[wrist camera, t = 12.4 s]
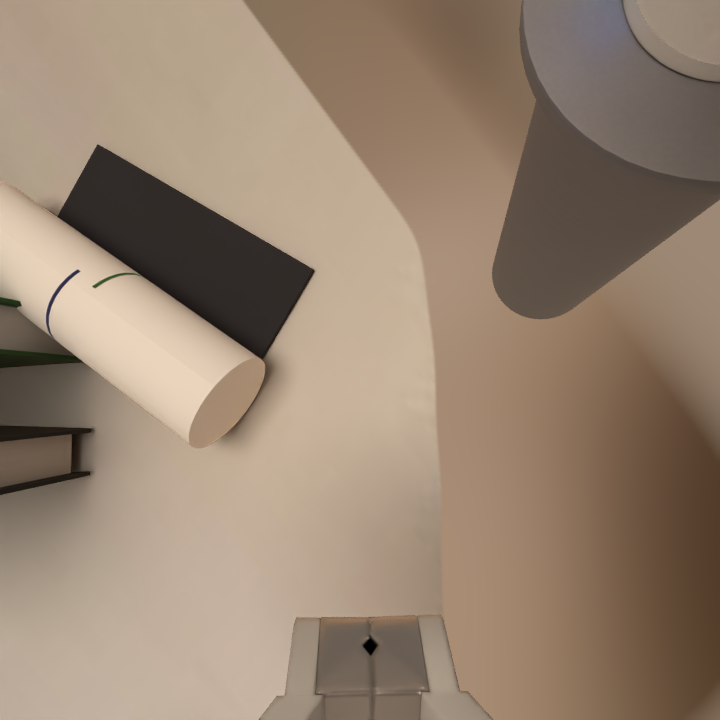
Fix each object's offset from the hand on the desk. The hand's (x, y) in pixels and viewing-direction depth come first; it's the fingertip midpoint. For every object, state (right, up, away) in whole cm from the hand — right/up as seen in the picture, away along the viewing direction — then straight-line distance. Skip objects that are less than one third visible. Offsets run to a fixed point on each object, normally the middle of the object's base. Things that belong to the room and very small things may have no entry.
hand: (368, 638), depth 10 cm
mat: (-16, +12, +28) cm, 35 cm away
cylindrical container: (-9, +3, +22) cm, 24 cm away
